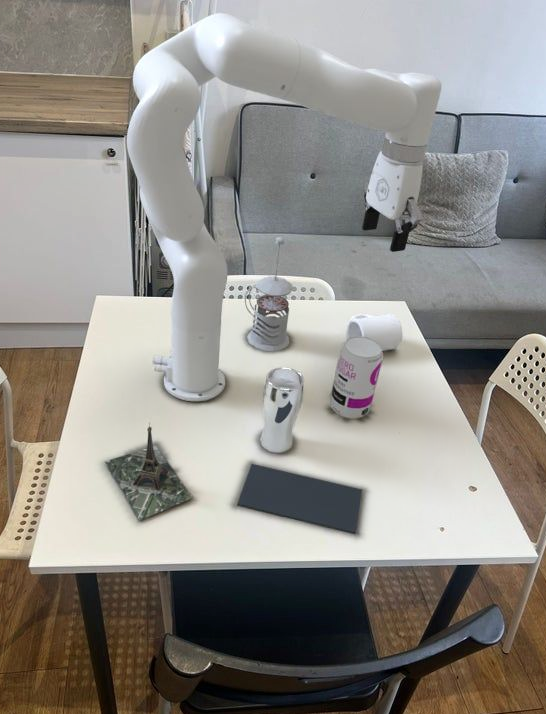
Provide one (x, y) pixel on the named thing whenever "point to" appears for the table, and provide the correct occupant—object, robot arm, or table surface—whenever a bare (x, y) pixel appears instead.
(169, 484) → the eiffel tower figurine
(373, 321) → the mug
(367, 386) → the supplement can
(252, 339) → the french press
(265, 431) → the beer glass
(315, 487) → the mat
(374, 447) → the table surface
